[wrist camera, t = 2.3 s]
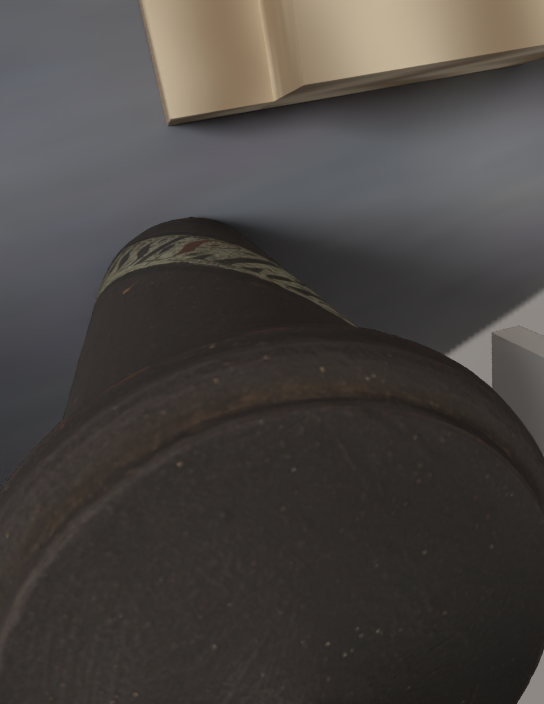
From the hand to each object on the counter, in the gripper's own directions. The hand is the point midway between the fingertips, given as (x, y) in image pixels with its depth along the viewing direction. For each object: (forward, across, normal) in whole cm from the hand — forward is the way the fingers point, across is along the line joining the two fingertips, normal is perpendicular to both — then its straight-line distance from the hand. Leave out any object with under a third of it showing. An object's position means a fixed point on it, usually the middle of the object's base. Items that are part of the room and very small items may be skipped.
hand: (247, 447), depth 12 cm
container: (+14, -1, 0) cm, 14 cm away
